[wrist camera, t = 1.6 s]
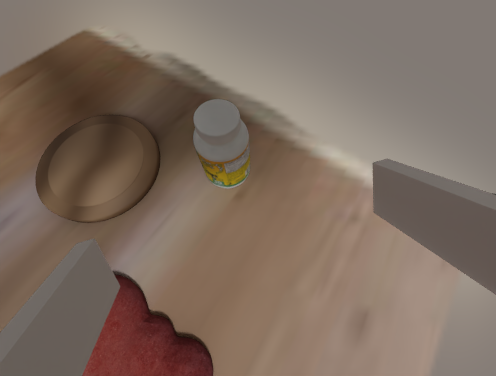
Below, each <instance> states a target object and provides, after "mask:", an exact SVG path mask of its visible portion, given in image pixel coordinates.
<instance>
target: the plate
mask: <svg viewBox="0 0 496 376" xmlns="http://www.w3.org/2000/svg"><path fill="white" fill-rule="evenodd" d="M159 167H160V153H159V148H158V146H157V143H156V141H155V140H154V138H153V137H152V135H151V133H150V132H149V131H148V130H147V128H146V127H145V126H143V125H142V124H141V123H139V122H138V121H136V120H134V119H131V118H129V117H125V116H120V115H102V116H96V117H92V118H89V119H86V120H83V121H81V122H79V123H77V124H74V125H73V126H71V127H69V128H68V129H66V130H65V131H64V132H62V133H61V134H60V135H59V136H58V137H56V138H55V139H54V140H53V142H52V143H51V144H50V145H49V146H48V148H47V149H46V150H45V152H44V154H43V155H42V157H41V159H40V162H39V164H38V168H37V171H36V189H37V193H38V195H39V198H40V199H41V201H42V203H43V204H44V205H45V206H46V207H47V208H48V209H49V210H51V211H52V212H53V213H55V214H57V215H59V216H61V217H64V218H67V219H69V220H72V221H76V222H84V223H92V222H100V221H105V220H108V219H111V218H114V217H117V216H119V215H121V214H123V213H125V212H126V211H128V210H130V209H131V208H132V207H134V206H135V205H136V204H137V203H138V202H140V201H141V200H142V199H143V198H144V196H145V195H146V194H147V193H148V192H149V190H150V189H151V187H152V186H153V184H154V182H155V180H156V177H157V175H158V171H159Z"/></svg>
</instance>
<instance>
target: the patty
mask: <svg viewBox="0 0 496 376" xmlns="http://www.w3.org/2000/svg"><path fill="white" fill-rule="evenodd" d="M115 277H116V279H117V281H118V283H119V285H120V288H119V291H118V293H117V295H116V298H115V300H114V302H113V305H112V307H111V309H110V312H109V314H108V316H107V319H106V321H105V323H104V326H103V328H102V330H101V333H100V335H99V337H98V340H97V342H96V344H95V347H94V349H93V351H92V354H91V356H90V358H89V361H88V363H87V365H86V368H85V370H84V372H83V375H82V376H213V365H212V360H211V357H210V354H209V353H208V351H207V350H206V349H205V348H204V346H203V345H202V344H201V343H200V342H198V341H196V340H194V339H191V338H187V337H179V336H177V335H176V333H175V331H174V328H173V326H172V324H171V323H170V321H169V320H168V319H166V318H164V317H162V316H157V315H152V314H151V313H150V312H149V309H148V306H147V302H146V300H145V298H144V295H143V293H142V291H141V290H140V289H139V287H138V286H137V285H135V284H134V283H133V282H132V281H131V280H129V279H128V278H125V277H123V276H120V275H115Z"/></svg>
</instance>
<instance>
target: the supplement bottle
mask: <svg viewBox="0 0 496 376" xmlns="http://www.w3.org/2000/svg"><path fill="white" fill-rule="evenodd" d="M193 120H194V125H195V130H194V134H193V142H194V146H195V149H196V151H197V154H198V156H199V159H200V161H201V163H202V166H203V168H204V171H205V173H206V175H207V177H208V179H209V180H210V181H211V183H213V184H214V185H216V186H219V187H222V188H234V187H236V186H238V185H240V184H242V183H243V182H244V181H245V180H246V178H247V177H248V175H249V172H250V148H249V133H248V129H247V127H246V125H245V124H244V122H243V121H242V120H241V119H240V113H239V110H238V108H237V107H236V106H235V105H234V104H233V103H231V102H229V101H227V100H223V99H213V100H209V101H207V102H205V103H203V104H201V105H200V106H199V107H198V108H197V110H196V111H195V113H194V118H193Z"/></svg>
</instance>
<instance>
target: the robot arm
mask: <svg viewBox="0 0 496 376" xmlns="http://www.w3.org/2000/svg"><path fill="white" fill-rule="evenodd" d="M373 205H374V213H375V214H377V215H378V216H380V217H381V218H383V219H384V220H386V221H387V222H389V223H390V224H392V225H393V226H395V227H396V228H397V229H399V230H400V231H402V232H403V233H405V234H406V235H408V236H409V237H411V238H412V239H414V240H415V241H417V242H418V243H420V244H421V245H423V246H424V247H426V248H427V249H429V250H430V251H432V252H433V253H435V254H436V255H438V256H439V257H441V258H442V259H444V260H445V261H447V262H448V263H450V264H451V265H453V266H454V267H455V268H457V269H458V270H460V271H461V272H463V273H464V274H466V275H468V276H469V277H470V278H472V279H473V280H475V281H476V282H478V283H479V284H481V285H482V286H484V287H485V288H487V289H488V290H490V291H491V292H493V293H494V294H496V194H493V193H489V192H486V191H483V190H479V189H477V188H474V187H471V186H468V185H465V184H462V183H459V182H456V181H452V180H449V179H446V178H444V177H441V176H437V175H435V174H431V173H429V172H426V171H423V170H419V169H416V168H414V167H411V166H407V165H404V164H402V163H399V162H396V161H393V160H390V159H384V160H381V161H377V162H374V163H373ZM119 288H120V285H119V283H118V281H117V279H116V277H115V275H114V273H113V272H112V270H111V268H110V266H109V264H108V262H107V260H106V259H105V257H104V255H103V253H102V251H101V249H100V248H99V246H98V244H97V242H96V240H95V239H91V240H87V241H84V242H80V243H77V244H76V245H75V246H74V247H73V248H72V249H71V251H70V252H69V253H68V254H67V255H66V256H65V258H64V259H63V260H62V261H61V262H60V263H59V265H58V266H57V267H56V268H55V269H54V270H53V272H52V273H51V274H50V275H49V276H48V277H47V279H46V280H45V281H44V282H43V283H42V284H41V286H40V287H39V288H38V289H37V290H36V291H35V293H34V294H33V295H32V296H31V297H30V298H29V300H28V301H27V302H26V303H25V304H24V306H23V307H22V308H21V309H20V310H19V311H18V313H17V314H16V315H15V316H14V317H13V318H12V320H11V321H10V322H9V323H8V324H7V325H6V327H5V328H4V329H3V330H2V331H1V332H0V376H82V375H83V372H84V370H85V368H86V365H87V363H88V361H89V358H90V356H91V354H92V351H93V349H94V347H95V344H96V342H97V340H98V337H99V335H100V333H101V330H102V328H103V326H104V323H105V321H106V319H107V316H108V314H109V312H110V309H111V307H112V305H113V302H114V300H115V298H116V295H117V293H118V291H119Z"/></svg>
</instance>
